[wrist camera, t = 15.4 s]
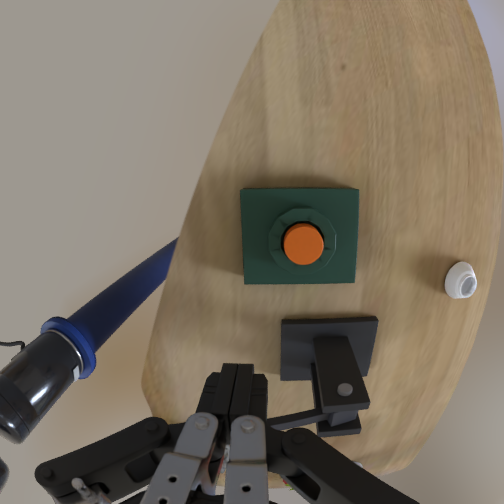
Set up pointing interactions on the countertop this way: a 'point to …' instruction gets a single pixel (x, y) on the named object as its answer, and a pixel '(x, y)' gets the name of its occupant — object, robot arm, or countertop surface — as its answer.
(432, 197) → the countertop surface
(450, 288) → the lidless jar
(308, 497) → the robot arm
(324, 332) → the lever stand
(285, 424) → the lever handle
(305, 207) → the dark green panel
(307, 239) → the warm button
